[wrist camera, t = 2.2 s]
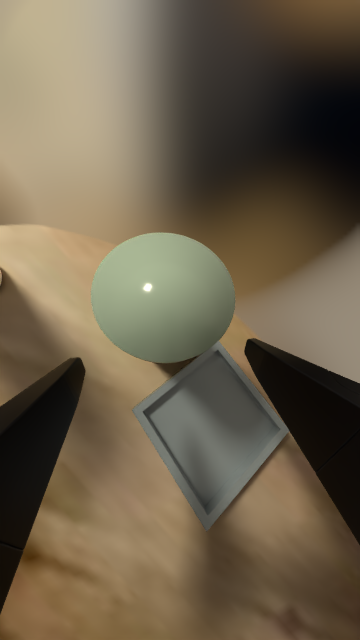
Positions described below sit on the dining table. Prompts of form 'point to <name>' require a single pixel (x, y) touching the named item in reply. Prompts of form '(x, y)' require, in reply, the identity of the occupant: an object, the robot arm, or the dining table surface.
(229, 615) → the dining table surface
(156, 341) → the sage green mushroom knob
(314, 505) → the dining table surface
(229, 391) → the tray
